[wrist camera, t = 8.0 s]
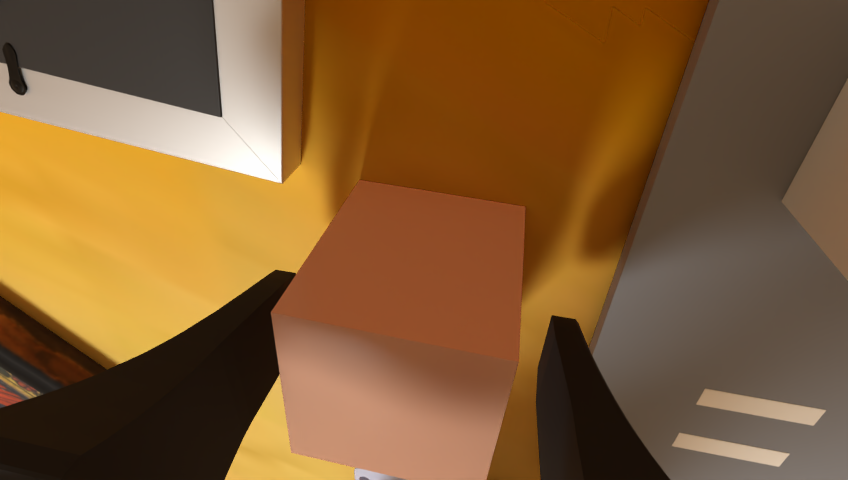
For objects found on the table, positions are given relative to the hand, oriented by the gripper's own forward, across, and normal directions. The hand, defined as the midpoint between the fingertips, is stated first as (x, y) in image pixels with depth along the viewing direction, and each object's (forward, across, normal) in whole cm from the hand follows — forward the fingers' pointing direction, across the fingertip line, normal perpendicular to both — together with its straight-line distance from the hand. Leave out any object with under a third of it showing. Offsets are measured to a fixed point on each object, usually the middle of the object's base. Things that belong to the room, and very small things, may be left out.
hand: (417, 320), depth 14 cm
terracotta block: (+3, 0, 0) cm, 3 cm away
